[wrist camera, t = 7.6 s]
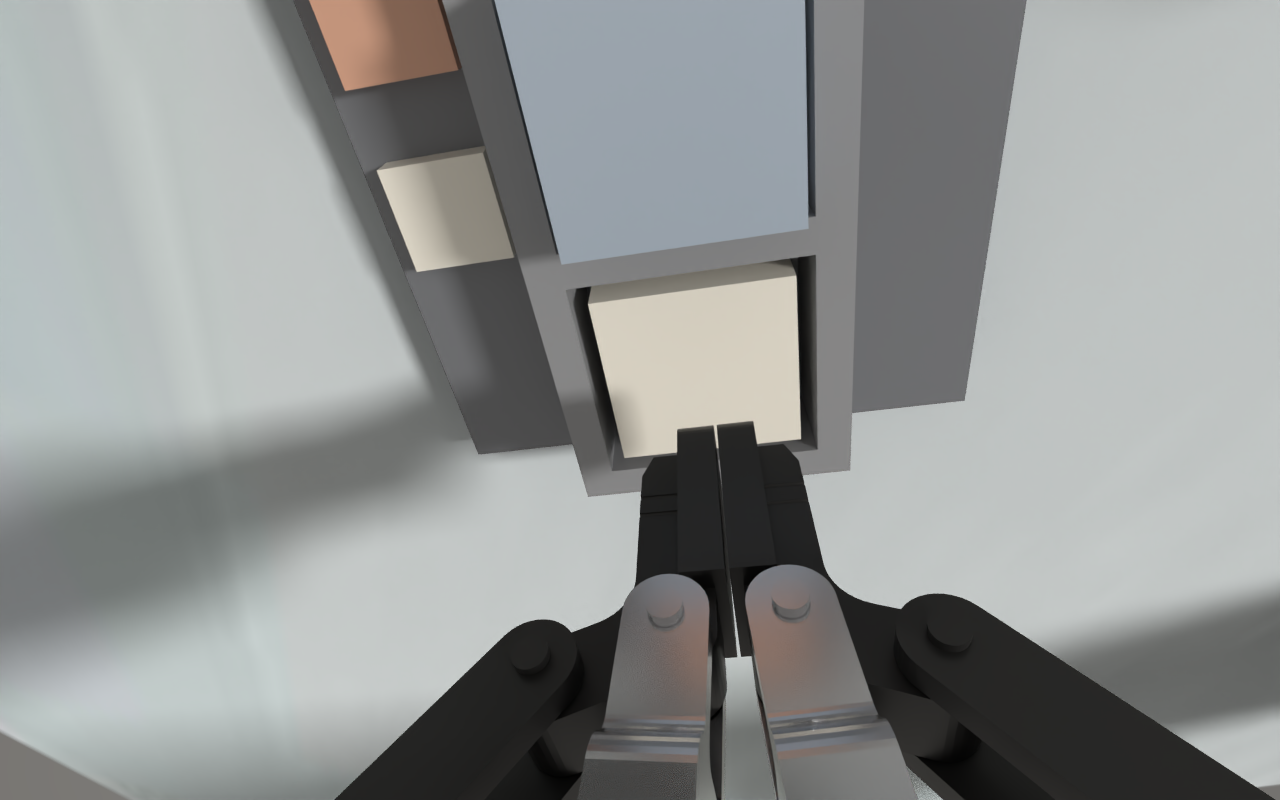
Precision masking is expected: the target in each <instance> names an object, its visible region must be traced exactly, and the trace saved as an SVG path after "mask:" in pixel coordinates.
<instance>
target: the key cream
mask: <svg viewBox="0 0 1280 800" xmlns="http://www.w3.org/2000/svg"><path fill="white" fill-rule="evenodd" d="M588 306H589V311H590V315H591V319H592V323H593V328H594V332H595V336H596V340H597V344H598V349H599V353H600V357H601V361H602V365H603V370H604V374H605V378H606V382H607V386H608V391H609V395H610V399H611V403H612V408H613V412H614V416H615V420H616V424H617V429H618V433H619V437H620V441H621V445H622V450H623V454H624V458H630V457H639V456H648V455H658V454H667V453H676V452H677V429H682V428H692V427H701V426H710V425H714V431H715V439H716V446H717V448H719V447H718V436H717V425H718V424H728V423H737V422H746V421H753V422H754V428H755V434H756V440H757V444H760V443H770V442H779V441H788V440H798V439H801V422H800V386H799V350H798V314H797V278H796V273H795V270H794V268H793V265H792V263H791V260H790V258H789V259H782V260H775V261H768V262H761V263H754V264H747V265H740V266H732V267H725V268H718V269H711V270H704V271H697V272H690V273H683V274H675V275H668V276H661V277H654V278H647V279H640V280H633V281H626V282H618V283H611V284H604V285H597V286H591V291H590V296H589V301H588Z"/></svg>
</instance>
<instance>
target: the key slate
mask: <svg viewBox="0 0 1280 800" xmlns="http://www.w3.org/2000/svg"><path fill="white" fill-rule="evenodd" d="M495 4H496V8H497V12H498V16H499V20H500V24H501V28H502V32H503V36H504V40H505V44H506V48H507V52H508V56H509V60H510V64H511V67H512V71H513V75H514V79H515V83H516V87H517V91H518V95H519V99H520V103H521V107H522V111H523V115H524V119H525V123H526V127H527V130H528V134H529V138H530V142H531V146H532V150H533V154H534V158H535V162H536V166H537V170H538V174H539V178H540V182H541V186H542V190H543V193H544V197H545V201H546V205H547V209H548V213H549V217H550V221H551V225H552V229H553V233H554V237H555V241H556V245H557V249H558V253H559V257H560V260H561V264H562V265H563V264H570V263H576V262H583V261H590V260H597V259H604V258H611V257H618V256H625V255H632V254H638V253H645V252H652V251H659V250H666V249H673V248H680V247H687V246H693V245H700V244H707V243H714V242H721V241H728V240H735V239H742V238H749V237H755V236H762V235H769V234H776V233H783V232H790V231H797V230H804V229H809V226H808V160H807V95H806V29H805V0H495Z"/></svg>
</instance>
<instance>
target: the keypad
mask: <svg viewBox="0 0 1280 800" xmlns="http://www.w3.org/2000/svg"><path fill="white" fill-rule="evenodd" d="M293 1H294V4H295V6H296V8H297V11H298V13H299V16H300V18H301V21H302V23H303V26H304V28H305V30H306V33H307V35H308V38H309V40H310V43H311V45H312V48H313V50H314V52H315V55H316V57H317V60H318V62H319V65H320V67H321V70H322V72H323V74H324V77H325V79H326V82H327V84H328V87H329V89H330V92H331V94H332V97H333V99H334V101H335V104H336V106H337V109H338V111H339V114H340V116H341V119H342V121H343V123H344V126H345V128H346V131H347V133H348V136H349V138H350V141H351V143H352V145H353V148H354V150H355V153H356V155H357V158H358V160H359V163H360V165H361V168H362V170H363V172H364V175H365V177H366V180H367V182H368V185H369V187H370V190H371V192H372V194H373V197H374V199H375V202H376V204H377V207H378V209H379V212H380V214H381V216H382V219H383V221H384V224H385V226H386V229H387V231H388V234H389V236H390V239H391V241H392V243H393V246H394V248H395V251H396V253H397V256H398V258H399V261H400V263H401V265H402V268H403V270H404V273H405V275H406V278H407V280H408V283H409V285H410V287H411V290H412V292H413V295H414V297H415V300H416V302H417V305H418V307H419V309H420V312H421V314H422V317H423V319H424V322H425V324H426V327H427V329H428V332H429V334H430V336H431V339H432V341H433V344H434V346H435V349H436V351H437V354H438V356H439V358H440V361H441V363H442V366H443V368H444V371H445V373H446V376H447V378H448V380H449V383H450V385H451V388H452V390H453V393H454V395H455V398H456V400H457V403H458V405H459V407H460V410H461V412H462V415H463V417H464V420H465V422H466V425H467V427H468V429H469V432H470V434H471V437H472V439H473V442H474V444H475V447H476V449H477V451H478V454H487V453H496V452H505V451H514V450H523V449H532V448H541V447H550V446H559V445H568V444H573V447H574V450H575V454H576V457H577V460H578V464H579V467H580V471H581V474H582V477H583V481H584V484H585V488H586V491H587V494H588V497H590V496H600V495H610V494H620V493H630V492H640V491H641V487H642V476H643V474H644V472H645V471H646V469H647V467H648V466H649V464H650V462H651V461H652V459H653V458H654V457H661V456H671V455H677V452H676V453H667V454H658V455H648V456H639V457H630V458H624V454H623V450H622V445H621V441H620V437H619V433H618V429H617V424H616V420H615V416H614V412H613V408H612V403H611V399H610V395H609V391H608V386H607V382H606V378H605V374H604V370H603V365H602V361H601V357H600V353H599V349H598V344H597V340H596V336H595V332H594V328H593V323H592V319H591V315H590V311H589V306H588V301H589V296H590V291H591V286H597V285H604V284H611V283H618V282H626V281H633V280H640V279H647V278H654V277H661V276H668V275H675V274H683V273H690V272H697V271H704V270H711V269H718V268H725V267H732V266H740V265H747V264H754V263H761V262H768V261H775V260H782V259H789V258H790V260H791V263H792V265H793V268H794V270H795V273H796V278H797V314H798V350H799V386H800V422H801V439H798V440H788V441H779V442H770V443H760V444H757V446H768V445H777V444H784V445H785V446H786V447H787V448H788V449H789V450H790V451H791V452H792V454H793V455H794V456H795V457H796V458H797V459H798V460H799V463H800V467H801V471H802V475H809V474H819V473H828V472H838V471H848V470H850V456H851V423H852V413H856V412H865V411H874V410H883V409H892V408H901V407H910V406H919V405H928V404H937V403H946V402H955V401H964V400H965V394H966V388H967V381H968V375H969V368H970V362H971V355H972V349H973V342H974V336H975V329H976V323H977V317H978V310H979V304H980V297H981V291H982V284H983V278H984V271H985V265H986V258H987V252H988V245H989V239H990V233H991V226H992V220H993V213H994V207H995V200H996V194H997V187H998V181H999V174H1000V168H1001V162H1002V155H1003V149H1004V142H1005V136H1006V129H1007V123H1008V116H1009V110H1010V103H1011V97H1012V91H1013V84H1014V78H1015V71H1016V65H1017V58H1018V52H1019V45H1020V39H1021V32H1022V26H1023V19H1024V13H1025V7H1026V0H805V29H806V95H807V160H808V226H809V229H804V230H797V231H790V232H783V233H776V234H769V235H762V236H755V237H749V238H742V239H735V240H728V241H721V242H714V243H707V244H700V245H693V246H687V247H680V248H673V249H666V250H659V251H652V252H645V253H638V254H632V255H625V256H618V257H611V258H604V259H597V260H590V261H583V262H576V263H570V264H563V265H562V264H561V260H560V257H559V253H558V249H557V245H556V241H555V237H554V233H553V229H552V225H551V221H550V217H549V213H548V209H547V205H546V201H545V197H544V193H543V190H542V186H541V182H540V178H539V174H538V170H537V166H536V162H535V158H534V154H533V150H532V146H531V142H530V138H529V134H528V130H527V127H526V123H525V119H524V115H523V111H522V107H521V103H520V99H519V95H518V91H517V87H516V83H515V79H514V75H513V71H512V67H511V64H510V60H509V56H508V52H507V48H506V44H505V40H504V36H503V32H502V28H501V24H500V20H499V16H498V12H497V8H496V4H495V0H293ZM717 454H718V461H719V469H720V459H719V448H717ZM720 476H721V470H720ZM721 483H722V482H721Z"/></svg>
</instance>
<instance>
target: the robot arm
mask: <svg viewBox="0 0 1280 800" xmlns="http://www.w3.org/2000/svg"><path fill="white" fill-rule="evenodd" d="M717 436H718V447H719V459H720V469H719V461H718V454H717V446H716V439H715V431H714V425H710V426H701V427H692V428H682V429H677V455H671V456H661V457H654V458H653V459H652V461H651V462H650V464H649V466H648V467H647V469H646V471H645V472H644V474H643V476H642V487H641V504H640V521H639V538H638V555H637V572H636V582H635V587H634V589H633V590H632V591H631V592H630V594H629V595H628V596H627V598H626V600H625V602H624V606H623V607H622V608H621V609H620V610H618V611H617V612H616V613H615V614H613V615H612V616H610V617H609V618H607V619H605V620H603V621H601V622H598V623H596V624H593V625H591V626H588V627H585V628H583V629H580V630H577V631H575V632H572V633H571V632H570V630H569V629H568V628H566V627H565V626H564V625H562V624H560V623H559V622H556V621H553V620H534V621H529V622H526V623H523V624H521V625H519V626H517V627H516V628H514V629H512V630H511V631H510V632H508V633H507V634H506V635H505V636H504V637H503V638H502V639H501V640H500V641H499V642H497V643H496V644H495V645H494V646H493V647H492V648H491V649H490V650H489V651H488V652H487V653H486V654H485V655H484V656H483V657H482V658H481V659H480V660H479V661H478V662H477V663H476V664H475V665H474V666H473V667H472V668H471V669H469V670H468V671H467V672H466V673H465V674H464V675H463V676H462V677H461V678H460V679H459V680H458V681H457V682H456V683H455V684H454V685H453V686H452V687H451V688H450V689H449V690H448V691H447V692H446V693H445V694H444V695H443V696H442V697H440V698H439V699H438V700H437V701H436V702H435V703H434V704H433V705H432V706H431V707H430V708H429V709H428V710H427V711H426V712H425V713H424V714H423V715H422V716H421V717H420V718H419V719H418V720H417V721H416V722H415V723H414V724H412V725H411V726H410V727H409V728H408V729H407V730H406V731H405V732H404V733H403V734H402V735H401V736H400V737H399V738H398V739H397V740H396V741H395V742H394V743H393V744H392V745H391V746H390V747H389V748H388V749H387V750H386V751H385V752H383V753H382V754H381V755H380V756H379V757H378V758H377V759H376V760H375V761H374V762H373V763H372V764H371V765H370V766H369V767H368V768H367V769H366V770H365V771H364V772H363V773H362V774H361V775H360V776H359V777H358V778H357V779H355V780H354V781H353V782H352V783H351V784H350V785H349V786H348V787H347V788H346V789H345V790H344V791H343V792H342V793H341V794H340V795H339V796H338V797H337V798H336V799H335V800H725V748H726V699H725V696H726V692H727V680H726V666H725V658H732V657H737V648H736V637H735V626H734V614H733V603H732V594H733V601H734V608H735V616H736V623H737V630H738V637H739V645H740V652H741V657H744V656H752V663H753V671H754V679H755V686H756V695H757V703H758V708H759V714H760V719H761V724H762V730H763V735H764V740H765V746H766V751H767V756H768V762H769V767H770V772H771V778H772V783H773V788H774V794H775V799H776V800H918V798H917V795H916V792H915V789H914V787H913V784H912V781H911V778H910V775H909V772H908V770H907V767H908V768H909V769H910V770H911V771H913V772H914V773H915V774H916V775H917V776H918V777H919V778H920V779H921V780H922V781H923V782H925V783H926V784H927V785H928V786H929V787H930V788H931V789H932V790H933V791H934V792H935V793H937V794H938V795H939V796H940V797H941V798H942V799H943V800H1275V799H1273V798H1272V797H1270V796H1269V795H1267V794H1266V793H1264V792H1263V791H1261V790H1260V789H1258V788H1257V787H1255V786H1254V785H1252V784H1250V783H1249V782H1247V781H1246V780H1244V779H1243V778H1241V777H1240V776H1238V775H1237V774H1235V773H1234V772H1232V771H1231V770H1229V769H1227V768H1226V767H1224V766H1223V765H1221V764H1220V763H1218V762H1217V761H1215V760H1214V759H1212V758H1211V757H1209V756H1207V755H1206V754H1204V753H1203V752H1201V751H1200V750H1198V749H1197V748H1195V747H1194V746H1192V745H1191V744H1189V743H1188V742H1186V741H1184V740H1183V739H1181V738H1180V737H1178V736H1177V735H1175V734H1174V733H1172V732H1171V731H1169V730H1168V729H1166V728H1165V727H1163V726H1161V725H1160V724H1158V723H1157V722H1155V721H1154V720H1152V719H1151V718H1149V717H1148V716H1146V715H1145V714H1143V713H1141V712H1140V711H1138V710H1137V709H1135V708H1134V707H1132V706H1131V705H1129V704H1128V703H1126V702H1125V701H1123V700H1122V699H1120V698H1118V697H1117V696H1115V695H1114V694H1112V693H1111V692H1109V691H1108V690H1106V689H1105V688H1103V687H1102V686H1100V685H1099V684H1097V683H1095V682H1094V681H1092V680H1091V679H1089V678H1088V677H1086V676H1085V675H1083V674H1082V673H1080V672H1079V671H1077V670H1075V669H1074V668H1072V667H1071V666H1069V665H1068V664H1066V663H1065V662H1063V661H1062V660H1060V659H1059V658H1057V657H1056V656H1054V655H1052V654H1051V653H1049V652H1048V651H1046V650H1045V649H1043V648H1042V647H1040V646H1039V645H1037V644H1036V643H1034V642H1032V641H1031V640H1029V639H1028V638H1026V637H1025V636H1023V635H1022V634H1020V633H1019V632H1017V631H1016V630H1014V629H1013V628H1011V627H1009V626H1008V625H1006V624H1005V623H1003V622H1002V621H1000V620H999V619H997V618H996V617H994V616H993V615H991V614H990V613H988V612H986V611H985V610H983V609H982V608H980V607H979V606H977V605H975V604H974V603H972V602H970V601H968V600H965V599H963V598H960V597H957V596H953V595H947V594H927V595H923V596H919V597H917V598H914V599H912V600H911V601H909V602H908V603H907V604H905V605H904V607H903V608H902V609H897V608H892V607H887V606H882V605H877V604H873V603H869V602H865V601H862V600H860V599H857V598H855V597H853V596H851V595H849V594H847V593H846V592H844V591H843V590H842V589H840V588H839V587H838V586H837V585H836V584H835V583H834V582H833V581H832V579H831V578H830V577H829V575H828V573H827V572H826V570H825V567H824V564H823V560H822V556H821V551H820V547H819V543H818V539H817V534H816V530H815V526H814V522H813V518H812V513H811V509H810V505H809V502H808V497H807V492H806V488H805V485H804V480H803V476H802V471H801V467H800V463H799V460H798V459H797V458H796V457H795V456H794V455H793V454H792V452H791V451H790V450H789V449H788V448H787V447H786V446H785V445H784V444H777V445H768V446H757V440H756V434H755V428H754V422H753V421H746V422H737V423H728V424H718V425H717ZM720 470H721V476H720ZM721 482H722V484H721ZM730 579H731V580H730ZM731 587H732V591H731ZM906 766H907V767H906Z"/></svg>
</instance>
